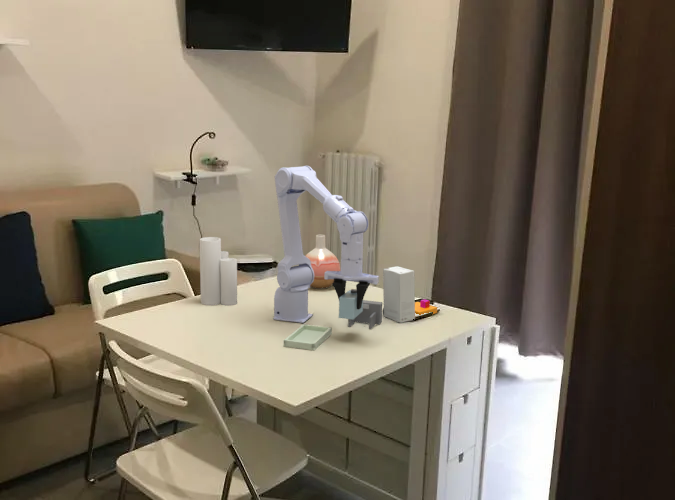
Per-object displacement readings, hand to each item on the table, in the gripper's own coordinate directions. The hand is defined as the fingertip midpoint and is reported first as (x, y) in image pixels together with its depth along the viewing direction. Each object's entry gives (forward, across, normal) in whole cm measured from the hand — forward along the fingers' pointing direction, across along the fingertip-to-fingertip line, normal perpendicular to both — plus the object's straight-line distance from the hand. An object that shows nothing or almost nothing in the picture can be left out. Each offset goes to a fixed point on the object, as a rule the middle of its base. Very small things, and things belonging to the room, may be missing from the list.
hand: (350, 307), depth 204 cm
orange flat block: (+9, +12, +30) cm, 34 cm away
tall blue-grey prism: (+2, 0, 0) cm, 2 cm away
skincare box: (+9, +8, +22) cm, 25 cm away
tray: (+9, -10, -6) cm, 14 cm away
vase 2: (+9, -25, +47) cm, 54 cm away
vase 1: (+9, -48, +18) cm, 52 cm away
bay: (+9, 0, +13) cm, 15 cm away
